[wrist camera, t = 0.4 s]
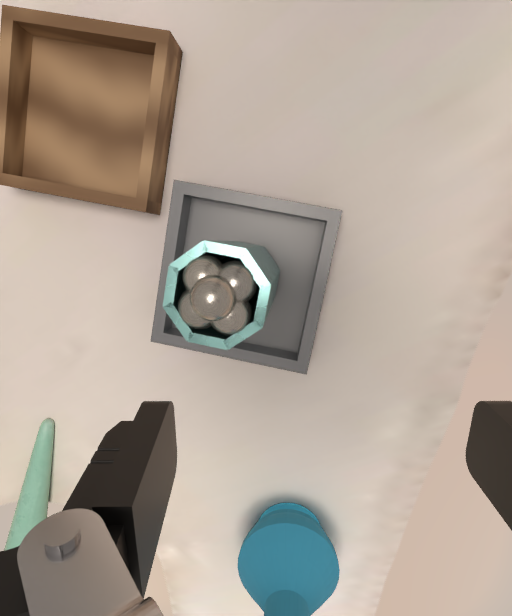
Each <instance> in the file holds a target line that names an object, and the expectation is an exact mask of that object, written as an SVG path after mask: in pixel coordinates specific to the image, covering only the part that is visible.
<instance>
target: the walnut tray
mask: <svg viewBox="0 0 512 616" xmlns="http://www.w3.org/2000/svg"><path fill="white" fill-rule="evenodd" d="M181 60H182V50H181V48H180V47H179V45H178V43H177V42H176V40H175V38H174V37H173V35H172V34H171V32H170V31H167V30H161V29H154V28H148V27H141V26H135V25H129V24H122V23H116V22H109V21H103V20H97V19H90V18H84V17H77V16H71V15H64V14H58V13H52V12H45V11H39V10H32V9H26V8H19V7H13V6H7V5H2V17H1V33H0V185H5V186H10V187H15V188H20V189H25V190H31V191H36V192H41V193H47V194H52V195H57V196H62V197H68V198H73V199H78V200H84V201H89V202H94V203H99V204H105V205H110V206H115V207H121V208H126V209H131V210H137V211H142V212H147V213H152V214H158V215H160V210H161V203H162V196H163V189H164V181H165V174H166V167H167V160H168V153H169V146H170V138H171V131H172V124H173V117H174V110H175V103H176V95H177V88H178V81H179V74H180V67H181Z"/></svg>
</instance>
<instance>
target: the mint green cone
mask: <svg viewBox="0 0 512 616" xmlns="http://www.w3.org/2000/svg"><path fill="white" fill-rule="evenodd" d="M53 441H54V421H53V420H52V419H50V418H48V419H45V420H44V421H43V422H42V424H41V426H40V429H39V432H38V435H37V438H36V442H35V445H34V448H33V452H32V455H31V459H30V462H29V466H28V469H27V472H26V476H25V479H24V483H23V486H22V490H21V493H20V497H19V500H18V504H17V508H16V511H15V515H14V518H13V521H12V525H11V528H10V532H9V535H8V539H7V542H6V546H5V549H4V551H5V550H9V549H12V548H15V547H17V546H20V544H21V542H22V541H23V539H24V537H25V536H26V535H27V534H28V532H29V531H30V530H31V529H32V528H33V527H35V526H36V525H37V524H38V523H40V522H41V521H43V520H44V519H46V518H47V509H48V499H49V488H50V476H51V465H52V453H53Z"/></svg>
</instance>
